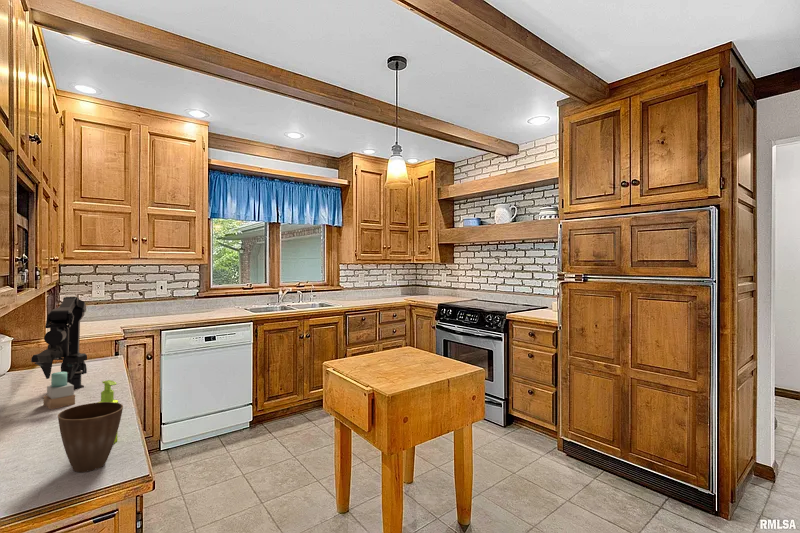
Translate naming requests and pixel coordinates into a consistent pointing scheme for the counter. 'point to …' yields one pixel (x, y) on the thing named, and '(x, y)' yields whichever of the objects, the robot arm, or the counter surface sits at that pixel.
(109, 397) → the soap dispenser
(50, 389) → the light grey block
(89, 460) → the plant pot
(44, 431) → the counter surface
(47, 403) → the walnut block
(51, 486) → the counter surface
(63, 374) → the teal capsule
